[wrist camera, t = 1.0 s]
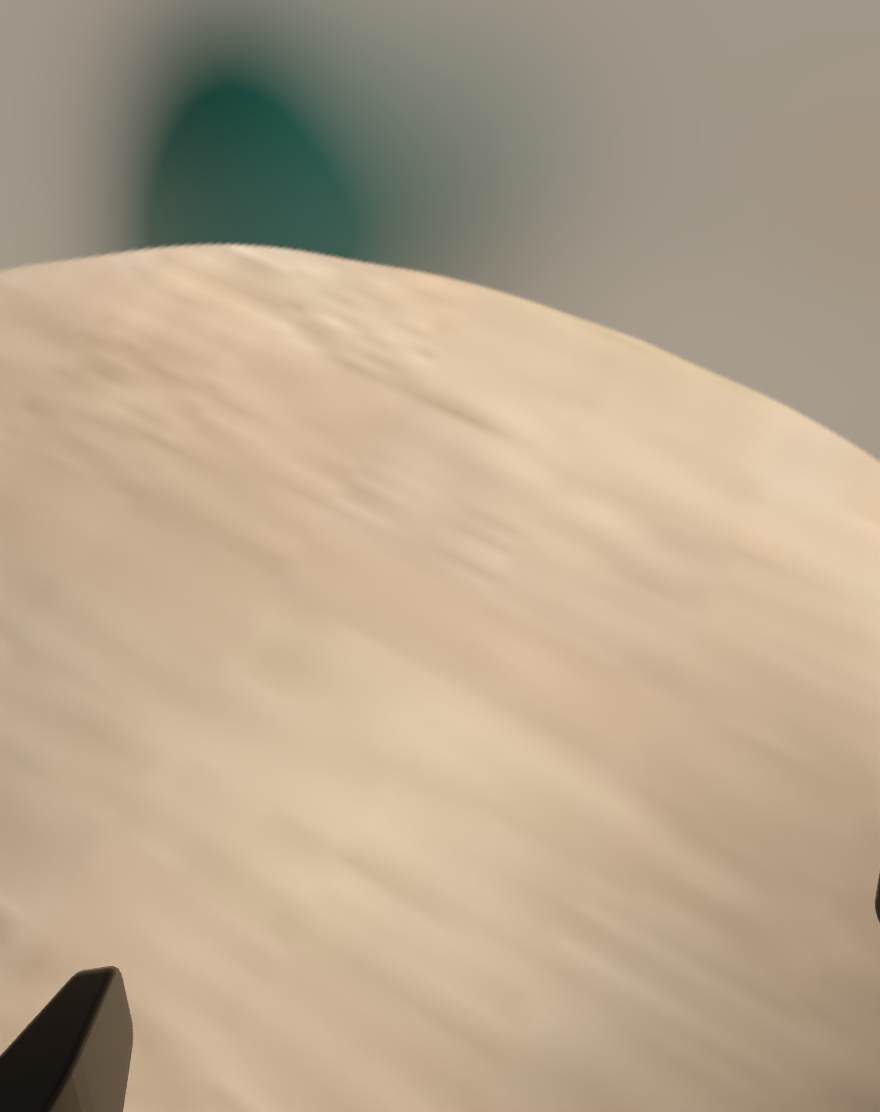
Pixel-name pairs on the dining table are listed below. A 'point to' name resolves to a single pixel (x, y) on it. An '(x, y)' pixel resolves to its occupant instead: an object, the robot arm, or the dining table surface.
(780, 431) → the dining table surface
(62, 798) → the dining table surface
